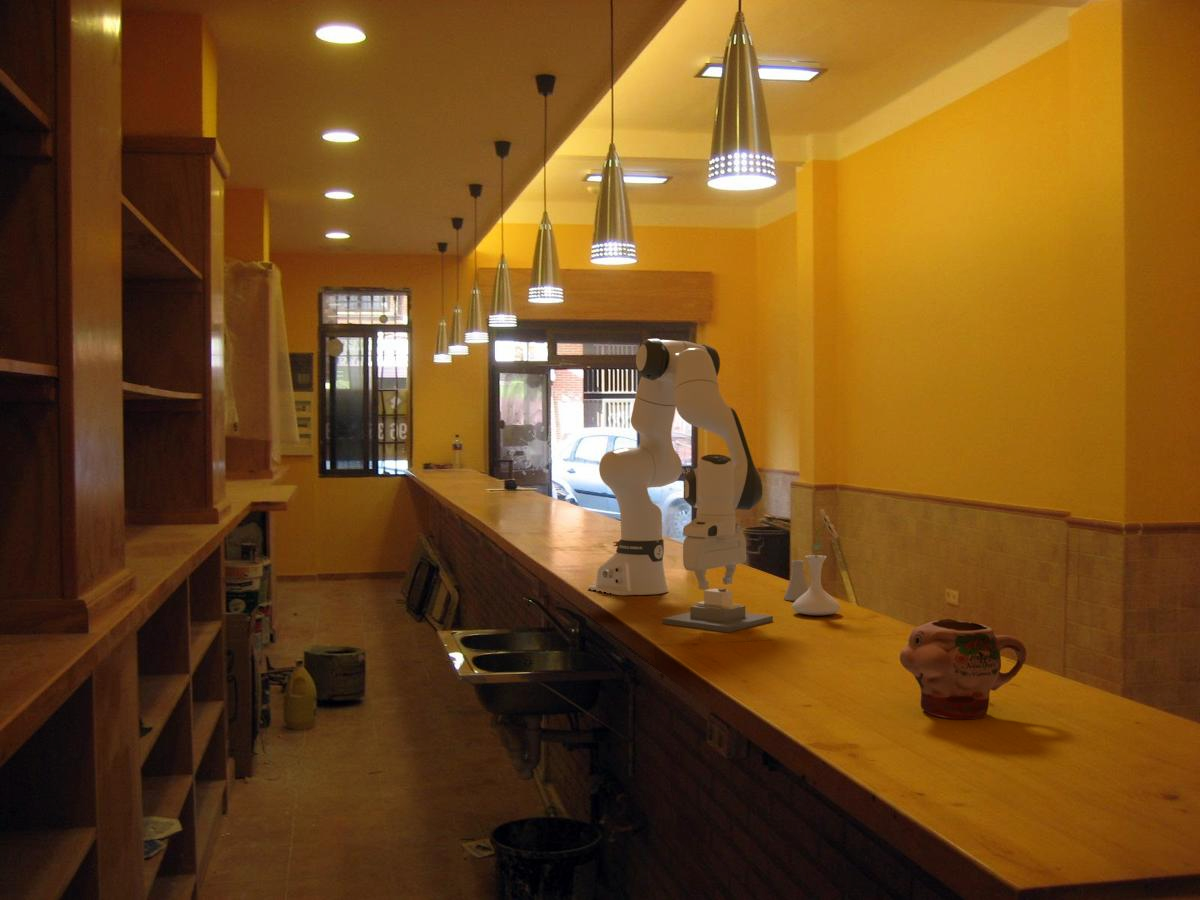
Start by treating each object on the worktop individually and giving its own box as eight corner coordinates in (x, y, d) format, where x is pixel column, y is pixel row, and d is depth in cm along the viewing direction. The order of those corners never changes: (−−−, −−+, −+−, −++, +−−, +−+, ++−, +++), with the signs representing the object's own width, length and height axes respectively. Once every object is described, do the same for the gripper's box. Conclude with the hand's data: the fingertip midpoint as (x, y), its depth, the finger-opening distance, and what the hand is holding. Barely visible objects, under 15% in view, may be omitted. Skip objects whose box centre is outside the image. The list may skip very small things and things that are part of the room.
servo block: (696, 615, 262) (696, 587, 262) (706, 613, 265) (706, 585, 265) (730, 620, 256) (730, 591, 256) (740, 617, 259) (740, 589, 259)
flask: (814, 602, 289) (814, 562, 289) (785, 602, 289) (785, 562, 289) (809, 597, 296) (809, 559, 296) (781, 597, 296) (781, 559, 296)
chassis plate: (662, 623, 260) (662, 607, 259) (708, 613, 273) (708, 597, 273) (728, 632, 248) (728, 615, 248) (772, 621, 261) (772, 605, 261)
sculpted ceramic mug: (1003, 699, 187) (1003, 615, 186) (1043, 718, 175) (1043, 628, 174) (887, 705, 184) (887, 619, 183) (920, 725, 171) (920, 633, 171)
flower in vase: (827, 620, 262) (827, 511, 262) (783, 615, 269) (782, 509, 268) (851, 612, 273) (851, 508, 272) (808, 608, 279) (808, 506, 279)
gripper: (730, 522, 270) (730, 580, 270) (678, 528, 254) (677, 590, 255) (753, 523, 266) (752, 582, 266) (701, 530, 250) (700, 593, 251)
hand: (715, 586), depth 260 cm, fingers open, 8 cm apart
